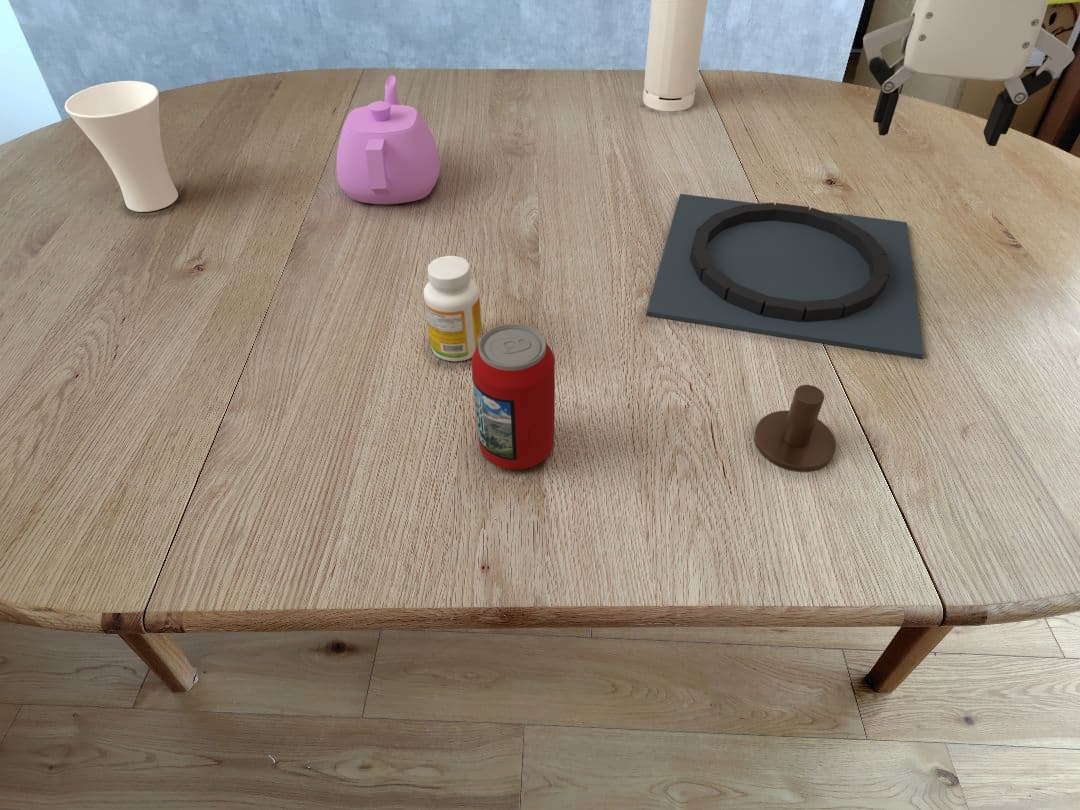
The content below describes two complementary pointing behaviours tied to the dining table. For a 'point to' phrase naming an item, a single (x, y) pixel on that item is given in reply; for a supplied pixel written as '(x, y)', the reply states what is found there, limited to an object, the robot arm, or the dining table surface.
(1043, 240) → the dining table surface
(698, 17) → the bottle
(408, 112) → the teapot
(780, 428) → the brown peg stand
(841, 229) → the ring
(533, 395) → the beverage can
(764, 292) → the mat
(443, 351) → the supplement bottle
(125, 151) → the cup
